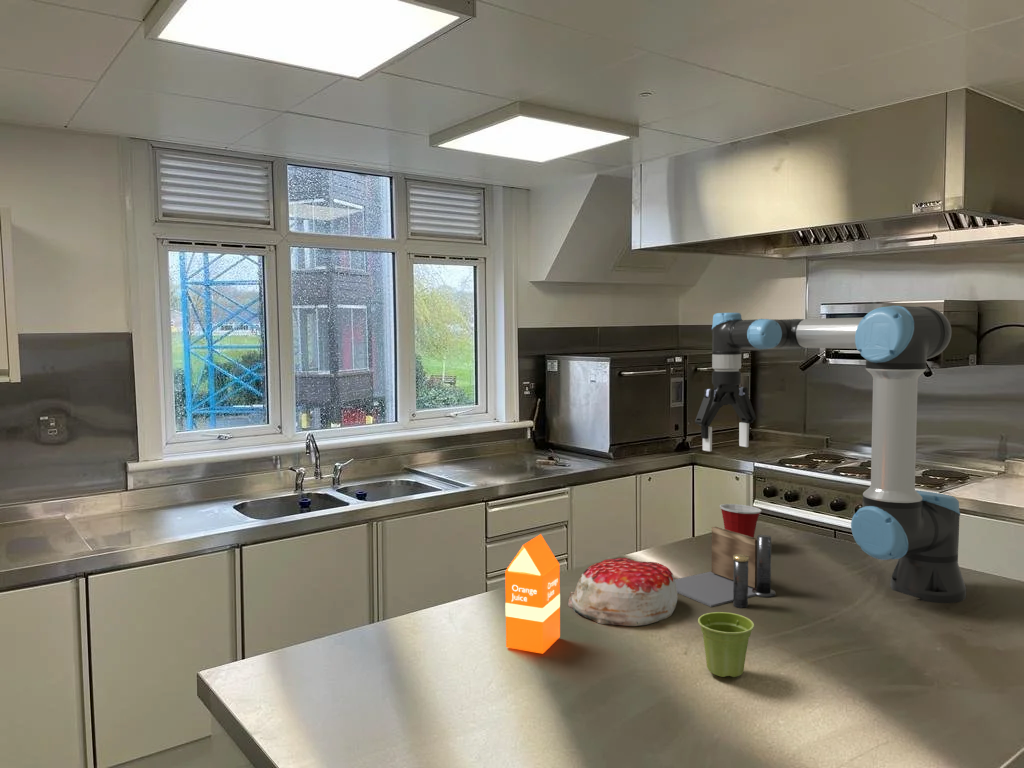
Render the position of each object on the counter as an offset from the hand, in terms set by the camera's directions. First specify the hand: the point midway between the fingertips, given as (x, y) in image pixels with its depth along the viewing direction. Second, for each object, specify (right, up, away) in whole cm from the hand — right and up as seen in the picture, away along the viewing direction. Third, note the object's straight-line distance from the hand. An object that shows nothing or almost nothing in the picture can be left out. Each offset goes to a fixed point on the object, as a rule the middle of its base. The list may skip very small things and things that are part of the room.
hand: (725, 448), depth 209 cm
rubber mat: (-12, -29, -33) cm, 45 cm away
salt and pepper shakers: (-5, -30, -39) cm, 49 cm away
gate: (-6, -28, -29) cm, 41 cm away
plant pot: (-21, -33, -75) cm, 84 cm away
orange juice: (-54, -32, -62) cm, 88 cm away
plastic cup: (+3, -27, -2) cm, 28 cm away
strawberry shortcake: (-34, -31, -42) cm, 62 cm away
